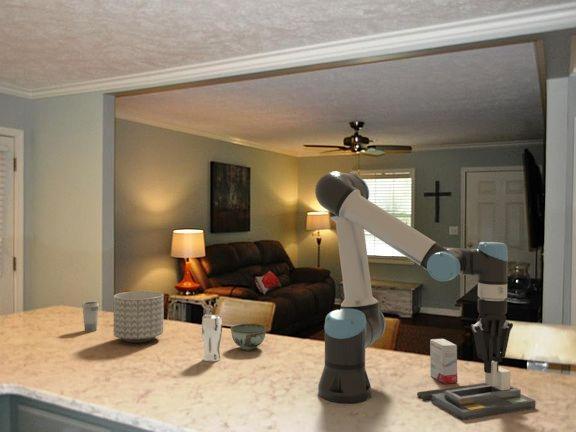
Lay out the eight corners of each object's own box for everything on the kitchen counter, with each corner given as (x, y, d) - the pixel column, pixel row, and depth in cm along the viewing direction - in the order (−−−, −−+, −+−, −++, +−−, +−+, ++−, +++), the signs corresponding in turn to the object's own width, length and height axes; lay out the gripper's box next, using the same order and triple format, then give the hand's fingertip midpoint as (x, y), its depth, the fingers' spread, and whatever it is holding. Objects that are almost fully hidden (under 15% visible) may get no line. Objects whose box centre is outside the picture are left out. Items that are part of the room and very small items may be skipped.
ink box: (458, 383, 158) (458, 345, 158) (443, 384, 157) (443, 346, 156) (443, 374, 166) (443, 338, 166) (429, 375, 165) (429, 338, 165)
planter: (156, 347, 195) (156, 299, 194) (106, 346, 195) (106, 299, 195) (168, 334, 214) (168, 291, 213) (122, 334, 214) (123, 290, 214)
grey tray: (462, 420, 131) (463, 404, 130) (431, 401, 143) (431, 387, 143) (535, 407, 139) (535, 393, 139) (499, 391, 151) (500, 378, 151)
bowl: (273, 347, 196) (273, 326, 196) (252, 355, 185) (252, 333, 185) (244, 342, 204) (245, 321, 203) (223, 349, 192) (223, 328, 192)
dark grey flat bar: (423, 400, 143) (423, 395, 143) (415, 396, 147) (415, 391, 147) (501, 389, 153) (501, 384, 153) (492, 385, 156) (492, 380, 156)
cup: (78, 332, 217) (78, 303, 217) (87, 328, 223) (87, 300, 223) (94, 332, 216) (94, 304, 215) (102, 329, 222) (102, 301, 222)
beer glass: (197, 360, 178) (198, 317, 178) (208, 355, 185) (208, 313, 184) (215, 363, 176) (215, 319, 175) (225, 357, 182) (225, 315, 182)
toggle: (500, 397, 140) (500, 372, 140) (489, 392, 144) (490, 368, 144) (510, 395, 142) (511, 371, 142) (500, 390, 145) (500, 366, 145)
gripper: (483, 302, 135) (481, 391, 136) (521, 299, 140) (519, 385, 140) (463, 297, 142) (462, 382, 143) (500, 295, 147) (499, 377, 147)
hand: (490, 384), depth 142 cm, fingers closed
